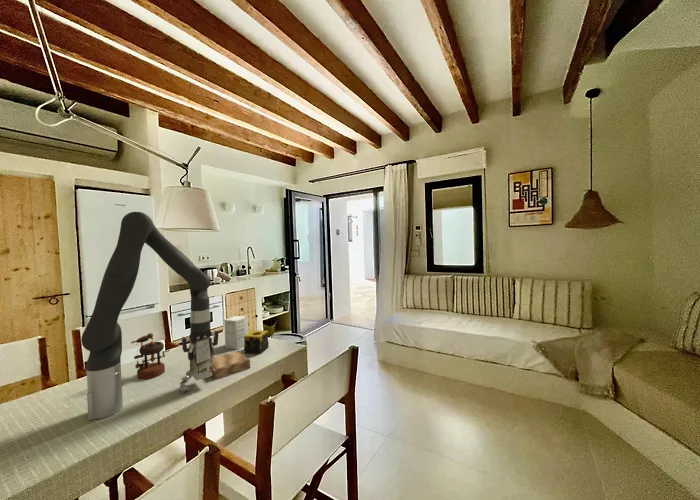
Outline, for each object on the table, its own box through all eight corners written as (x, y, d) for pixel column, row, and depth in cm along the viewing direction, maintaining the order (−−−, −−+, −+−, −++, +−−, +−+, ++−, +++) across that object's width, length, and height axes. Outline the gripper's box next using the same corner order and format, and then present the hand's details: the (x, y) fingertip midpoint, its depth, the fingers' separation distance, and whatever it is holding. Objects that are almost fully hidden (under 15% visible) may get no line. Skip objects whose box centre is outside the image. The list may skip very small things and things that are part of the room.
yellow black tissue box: (252, 346, 158) (252, 330, 157) (269, 347, 156) (268, 330, 156) (243, 353, 147) (243, 336, 147) (261, 354, 146) (260, 336, 146)
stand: (214, 379, 120) (214, 370, 120) (205, 367, 132) (205, 359, 132) (250, 368, 130) (249, 359, 130) (238, 357, 142) (238, 349, 142)
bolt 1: (188, 381, 118) (188, 375, 118) (181, 382, 118) (181, 376, 118) (193, 375, 124) (193, 369, 124) (187, 376, 124) (186, 370, 123)
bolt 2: (189, 391, 110) (188, 385, 110) (181, 394, 108) (180, 387, 108) (186, 386, 115) (186, 379, 114) (178, 388, 113) (178, 382, 113)
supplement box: (248, 344, 162) (247, 316, 161) (237, 349, 153) (236, 320, 153) (236, 342, 165) (235, 315, 165) (224, 347, 157) (223, 319, 156)
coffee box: (212, 375, 115) (212, 338, 114) (196, 381, 110) (195, 342, 110) (205, 368, 121) (204, 333, 121) (189, 373, 116) (188, 337, 116)
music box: (138, 384, 117) (134, 338, 118) (129, 379, 123) (126, 336, 124) (176, 369, 130) (173, 328, 130) (166, 366, 136) (163, 327, 136)
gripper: (182, 325, 107) (183, 366, 108) (220, 318, 117) (221, 356, 117) (179, 321, 113) (179, 360, 113) (215, 315, 123) (216, 351, 123)
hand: (200, 357), depth 115 cm, fingers closed on coffee box, 6 cm apart
